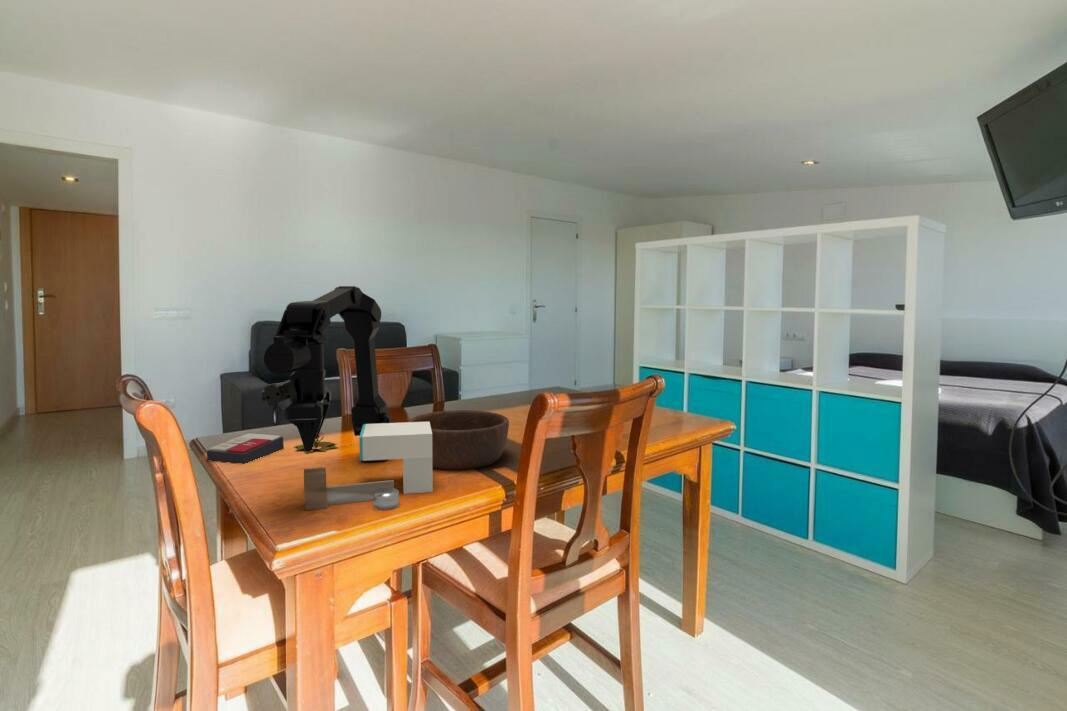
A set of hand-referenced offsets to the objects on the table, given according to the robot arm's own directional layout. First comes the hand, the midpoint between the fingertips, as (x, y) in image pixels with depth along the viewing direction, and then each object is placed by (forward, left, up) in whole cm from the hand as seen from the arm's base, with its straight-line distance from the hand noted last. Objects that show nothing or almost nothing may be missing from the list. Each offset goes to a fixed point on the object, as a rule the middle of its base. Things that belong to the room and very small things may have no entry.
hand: (311, 444), depth 115 cm
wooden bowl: (-25, +32, -12) cm, 42 cm away
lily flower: (-43, -5, -12) cm, 45 cm away
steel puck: (+5, +14, -12) cm, 19 cm away
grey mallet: (+2, +7, -12) cm, 14 cm away
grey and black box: (-39, -22, -12) cm, 46 cm away
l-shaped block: (-7, +17, -12) cm, 21 cm away
